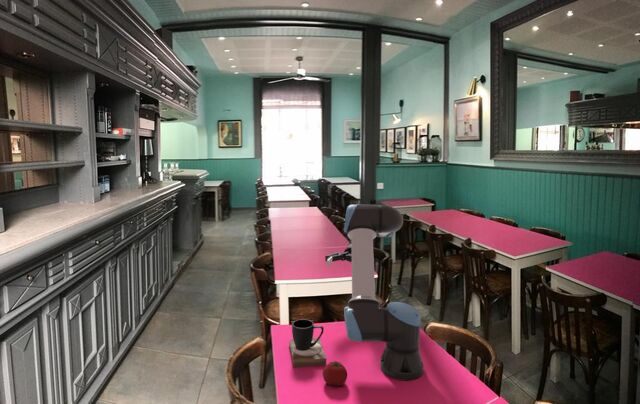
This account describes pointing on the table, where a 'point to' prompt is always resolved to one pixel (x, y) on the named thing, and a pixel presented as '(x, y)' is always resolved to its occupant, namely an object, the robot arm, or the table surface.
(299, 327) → the mug
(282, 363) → the table surface
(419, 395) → the table surface
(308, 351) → the wooden coaster block
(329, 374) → the tomato
